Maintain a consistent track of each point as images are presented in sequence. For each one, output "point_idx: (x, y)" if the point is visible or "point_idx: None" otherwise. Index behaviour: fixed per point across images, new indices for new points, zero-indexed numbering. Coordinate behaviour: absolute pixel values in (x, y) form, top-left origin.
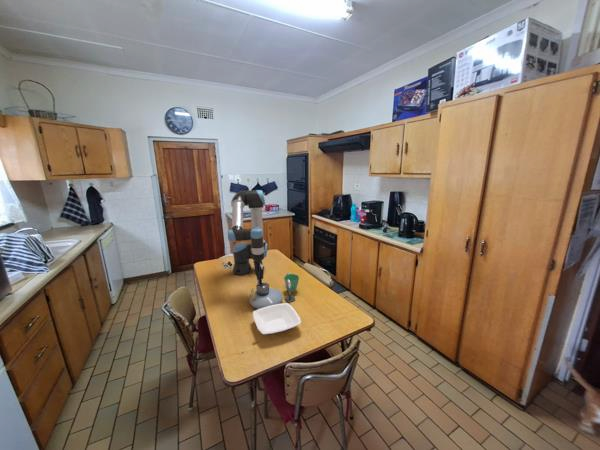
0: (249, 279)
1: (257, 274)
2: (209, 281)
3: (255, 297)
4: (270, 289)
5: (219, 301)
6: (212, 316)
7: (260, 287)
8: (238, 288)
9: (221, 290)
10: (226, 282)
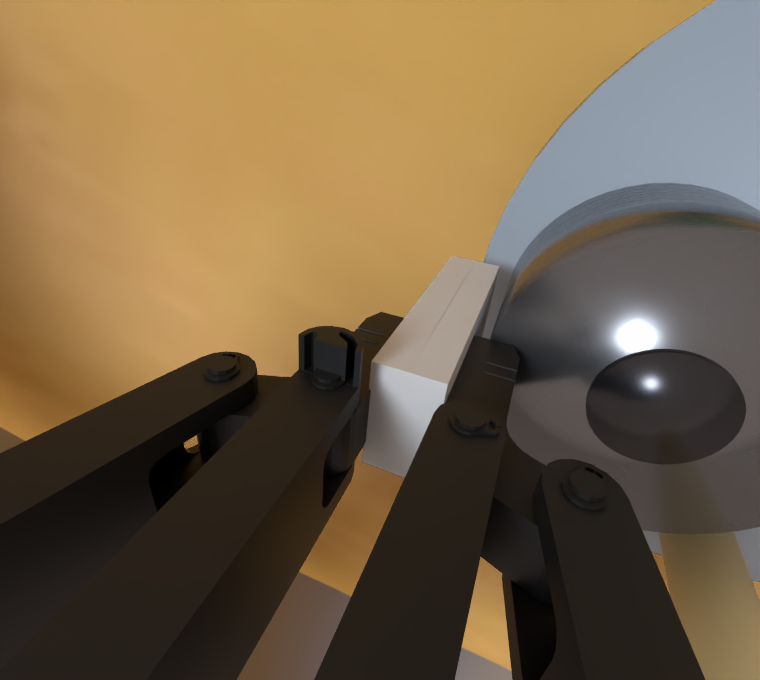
0: (46, 133)
1: (308, 539)
2: (39, 416)
3: (741, 559)
4: (658, 105)
5: (337, 538)
6: (499, 662)
7: (692, 491)
8: (203, 338)
9: (186, 442)
10: (72, 348)
